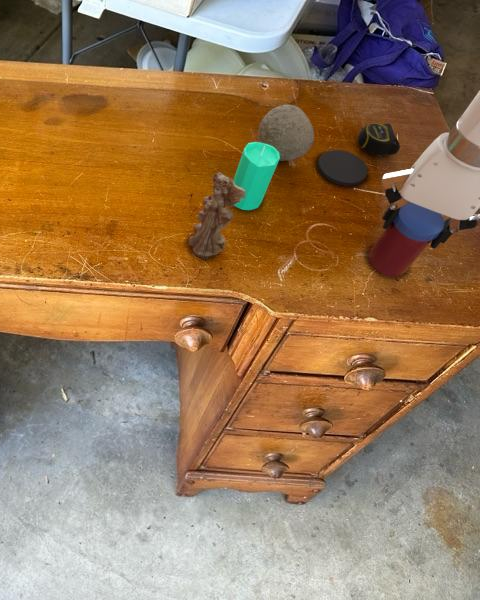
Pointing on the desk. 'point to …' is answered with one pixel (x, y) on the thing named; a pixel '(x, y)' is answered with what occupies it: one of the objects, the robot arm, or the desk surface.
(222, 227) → the figurine
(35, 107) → the desk surface
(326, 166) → the coaster
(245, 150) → the candle
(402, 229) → the jam lid
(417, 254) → the jam jar
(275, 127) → the decorative stone
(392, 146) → the tape measure
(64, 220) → the desk surface
